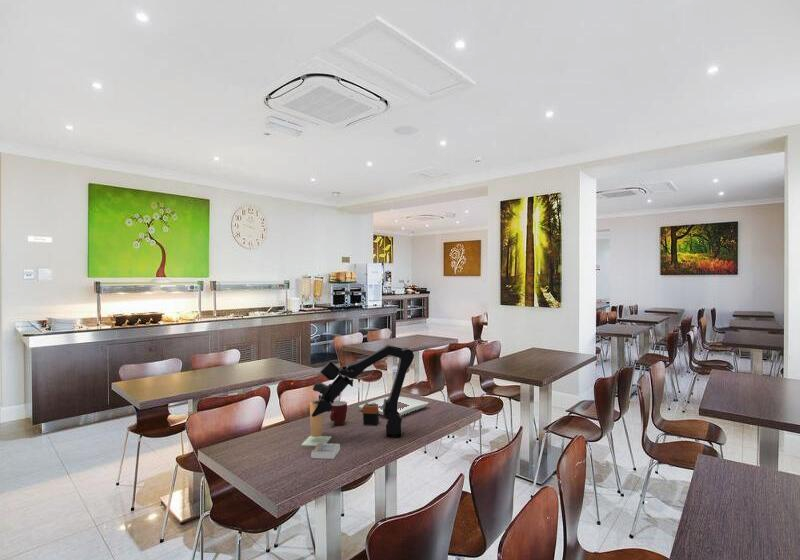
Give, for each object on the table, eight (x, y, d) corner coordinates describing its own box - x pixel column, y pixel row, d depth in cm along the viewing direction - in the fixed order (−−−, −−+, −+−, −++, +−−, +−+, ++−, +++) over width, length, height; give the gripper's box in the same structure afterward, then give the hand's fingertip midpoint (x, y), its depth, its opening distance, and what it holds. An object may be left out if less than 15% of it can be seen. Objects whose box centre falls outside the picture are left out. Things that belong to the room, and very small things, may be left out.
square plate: (429, 408, 229) (429, 401, 229) (394, 422, 209) (393, 414, 209) (393, 400, 248) (393, 393, 248) (357, 412, 228) (357, 404, 228)
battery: (376, 425, 205) (376, 404, 205) (363, 425, 206) (362, 404, 206) (379, 422, 209) (378, 402, 209) (365, 422, 211) (365, 401, 211)
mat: (331, 437, 191) (331, 436, 191) (323, 446, 181) (323, 445, 181) (309, 437, 193) (309, 435, 193) (301, 445, 183) (301, 444, 183)
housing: (340, 449, 177) (339, 443, 177) (333, 458, 168) (333, 452, 168) (319, 449, 178) (319, 443, 178) (311, 458, 169) (311, 452, 169)
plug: (324, 434, 188) (323, 400, 188) (316, 437, 184) (315, 403, 184) (316, 432, 190) (315, 399, 190) (308, 435, 186) (307, 402, 186)
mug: (340, 429, 202) (339, 407, 202) (325, 427, 205) (324, 406, 205) (350, 421, 212) (349, 401, 212) (335, 420, 214) (335, 400, 214)
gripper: (324, 370, 197) (300, 396, 195) (322, 380, 178) (296, 408, 177) (342, 386, 198) (318, 412, 196) (342, 397, 179) (316, 426, 178)
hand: (312, 414), depth 187 cm, fingers closed on plug, 5 cm apart
